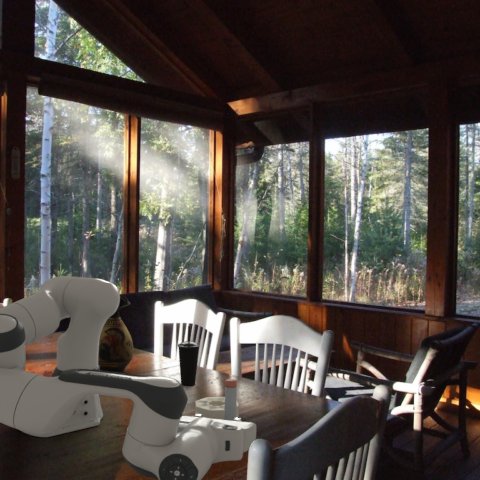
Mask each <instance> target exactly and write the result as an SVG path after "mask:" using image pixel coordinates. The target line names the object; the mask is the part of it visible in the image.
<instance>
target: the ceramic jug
mask: <svg viewBox="0 0 480 480" xmlns="http://www.w3.org/2000/svg"><path fill="white" fill-rule="evenodd" d="M127 306H131V302H130V301H129V300H128V298H127V297H126V296H125V295H122V296H121V295H120V303H119V306H118V308H117V310H116V312H115V313H114V314H113V315H112V316H110V317H109V318H108V320H107V321H106V323H105V324H104V326H103V329H102V332H101V335H100V340H99V353H98V365H99V366H100V370H101V371H110V372H118V373H125V370H126V369H127V367H128V365H129V364H130V363H131V361H132V359H133V356H134V344H133V339H132V336H131V334H130V331H129V330H128V328H127V326H126V325H125V323H124V321H123V320H122V318H121V316H120V310H121V309H122V308H125V307H127ZM125 374H126V373H125Z"/></svg>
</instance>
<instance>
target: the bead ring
mask: <svg viewBox="0 0 480 480" xmlns="http://www.w3.org/2000/svg"><path fill="white" fill-rule="evenodd" d="M194 405H195V406H194V407H195V408H194V409H195V411H194V413H195V414H194V416H195V415H196V414H202V415H203V418H212V419H222V420H224V417H225V396H205V397H203V398H200V399H198V400H195V404H194ZM239 414H240V405H239V402H238V400H236V418H238V417H239V418H240V415H239Z"/></svg>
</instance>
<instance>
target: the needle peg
mask: <svg viewBox="0 0 480 480" xmlns="http://www.w3.org/2000/svg"><path fill="white" fill-rule="evenodd" d="M224 382H225V383H224V384H225V385H224V397H225V417H224V420H232V421H234V418H236V400H237V396H238V395H237V393H238V392H237V390H238V386H237V385H238V380H237V379H235V378H228V379H227V378H226V379H225V381H224ZM237 401H238V400H237Z"/></svg>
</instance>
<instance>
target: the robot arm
mask: <svg viewBox="0 0 480 480" xmlns="http://www.w3.org/2000/svg"><path fill="white" fill-rule="evenodd" d="M120 296H121V295H120V291H119V289H118V287H117V285H115V284H114V283H112V282H109V281H108V280H105V279H101V278H95V277H82V276H69V275H62V276H57V277H56V276H54V277H52V278H48V279H47V280H45V281H43V283H42V284H41V286H40V287H39V290H38V291H37V292H35V293H33V294H31V295H28V296H26V297H24V298H21V299H19V300H16V301H15V302H12V303H9V304H7V305H4V306H3V307H1V308H0V423H1V424H3V425H6V426H8V427H11V428H13V429H16V430H19V431H21V432H22V433H24V434H27V435H29V436H32V437H33V436H34V437H39V438H49V437H54V436H58V435H62V434H67V433H71V432H74V431H75V432H76V431H79V430H83V429H84V430H85V429H87V428H91V427H96V426H99V425H100V424H101V420H102V419H103V417H104V413H103V409H102V404H101V400H100V395H101V396H109V397H114V398H123V399H129V400H131V401H132V403H133V406H132V407H133V408H132V411H131V415H130V420H129V422H128V427H127V430H126V432H125V437H124V440H123V444H122V449H121V454H122V457H123V459H124V461H125V462H126V464H127V465H128V466H129V467H130V468H131V469H132V471H134V472H136V473H138V474H140V475H142V476H144V477H147V478H151V479H155V480H156V479H157V480H203V478H204V477H205V475H206V474H207V473H208V471H209V470H210V468H211V467H212V464H218V463H220V462H233V461H241V460H242V459H243V456H244V453H246V452H247V451H249V450H250V449H249V446H250V444H251V443H252V442H253V441H254V440H255V441H256V439H257V424H256V423H254V422H251V421H242V418H241V417H239V418H234V421H232V420H222V419H212V418H203V415H202V414H196V415H195V414H194V415H184V411H185V409H186V406H187V404H188V401H189V398H188V396H187V393H186V391H185V389H184V386H183V385H181V381H179V380H177V379H176V378H173V377H169V376H163V375H144V374H143V375H142V374H141V375H140V374H130V373H118V372H110V371H101V370H100V366H99V365H98V353H99V340H100V335H101V332H102V329H103V326H104V324H105V323H106V321H107V320H108V318H109V317H110V316H112V315H113V314H114V313H115V312H116V310H117V308H118V306H119V303H120ZM66 318H67V319H69V318H70V320H69V325H68V326H67V327H68V328H67V329H66V331H65V332H64V333H62V334H61V335H59V337H58V339H57V341H56V366H55V367H54V370H53V372H52V371H51V370H50V371H49V370H48V369H47V370H44V371H43V372H42V375H41V374H38V373H34V372H29V371H26V367H27V366H26V365H27V358H26V347H27V346H29V345H31V344H33V343H35V342H37V341H39V340H40V339H43V338H45V337H47V336H48V335H51V334H53V333H55V332H56V331H57V329H58V328H59V327H60V324H61V323H60V322H61V321H62V320H64V319H66Z"/></svg>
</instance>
